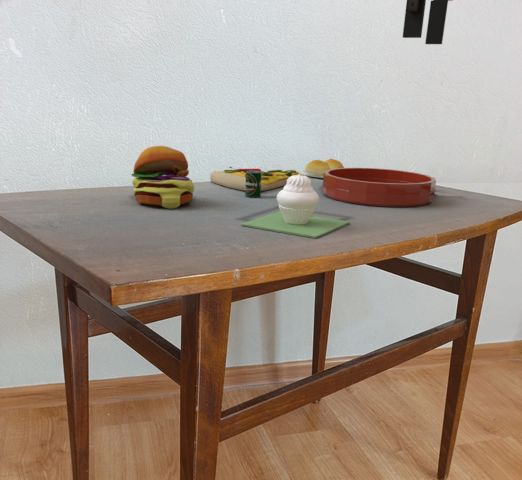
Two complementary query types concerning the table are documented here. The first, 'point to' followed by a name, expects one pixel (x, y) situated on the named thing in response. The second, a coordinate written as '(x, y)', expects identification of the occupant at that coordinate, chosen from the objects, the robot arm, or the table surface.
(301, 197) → the muffin
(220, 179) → the pizza slice
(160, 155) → the cheeseburger
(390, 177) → the pan
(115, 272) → the table surface
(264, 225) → the cloth
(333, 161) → the bread roll
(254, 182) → the beer can
